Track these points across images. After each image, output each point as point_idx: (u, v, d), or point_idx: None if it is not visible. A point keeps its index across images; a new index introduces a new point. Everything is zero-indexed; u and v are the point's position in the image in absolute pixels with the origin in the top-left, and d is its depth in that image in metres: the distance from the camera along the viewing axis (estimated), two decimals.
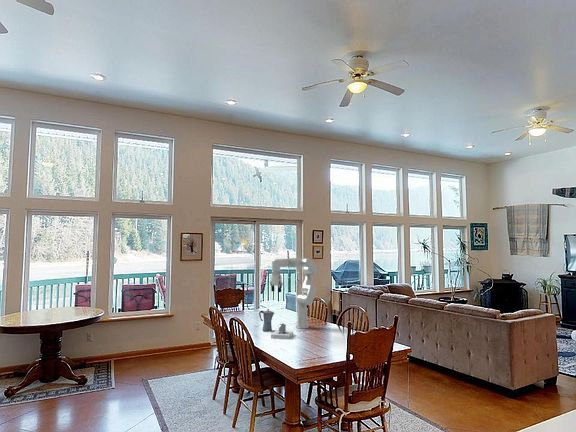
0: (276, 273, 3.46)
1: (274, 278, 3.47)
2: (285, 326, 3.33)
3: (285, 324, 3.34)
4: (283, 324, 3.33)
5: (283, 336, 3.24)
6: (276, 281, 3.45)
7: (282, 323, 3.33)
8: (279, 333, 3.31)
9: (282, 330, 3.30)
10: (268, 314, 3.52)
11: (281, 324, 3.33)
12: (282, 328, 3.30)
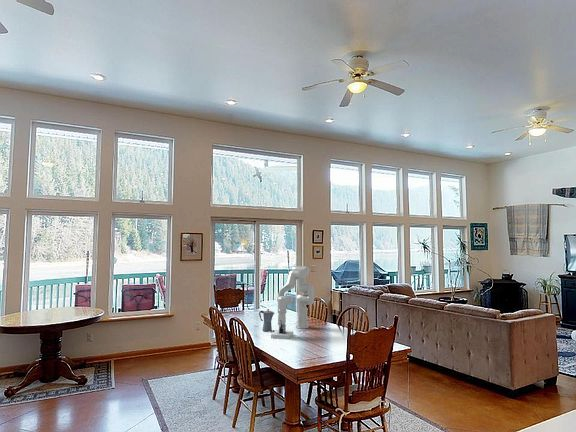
0: None
1: (285, 317, 3.34)
2: (285, 326, 3.33)
3: (285, 324, 3.34)
4: None
5: (283, 336, 3.24)
6: (285, 319, 3.36)
7: None
8: (279, 333, 3.31)
9: None
10: (268, 314, 3.52)
11: (281, 324, 3.33)
12: None
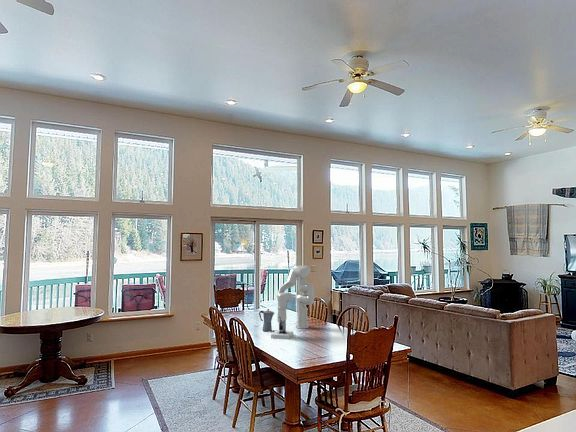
0: None
1: (285, 314, 3.34)
2: (285, 323, 3.33)
3: (285, 321, 3.34)
4: None
5: (283, 336, 3.24)
6: (285, 316, 3.36)
7: None
8: (279, 330, 3.32)
9: None
10: (268, 314, 3.52)
11: (281, 321, 3.33)
12: None
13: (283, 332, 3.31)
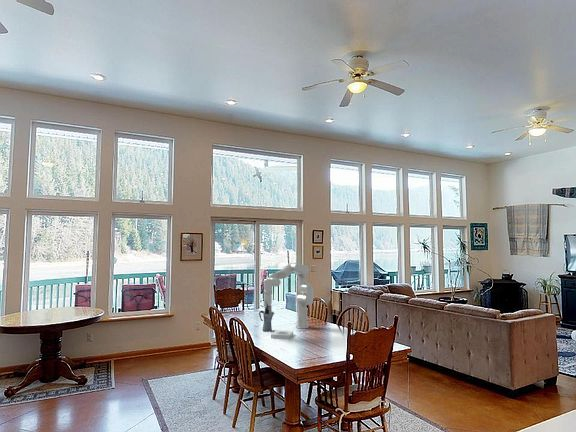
0: None
1: (270, 298, 3.36)
2: (271, 307, 3.35)
3: None
4: None
5: (283, 336, 3.24)
6: (271, 300, 3.39)
7: None
8: (265, 314, 3.34)
9: None
10: None
11: (267, 305, 3.35)
12: None
13: (269, 316, 3.33)
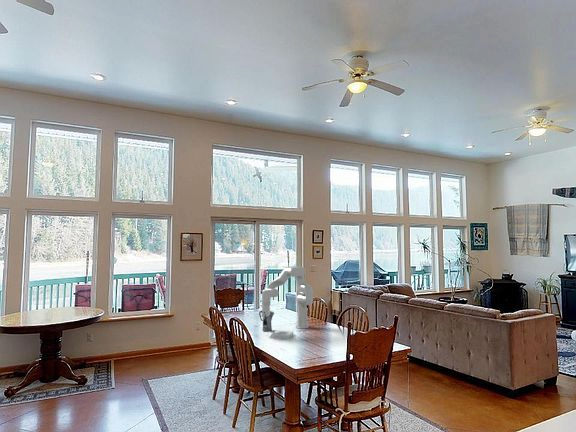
0: None
1: (269, 309, 3.36)
2: (269, 318, 3.34)
3: (269, 316, 3.36)
4: None
5: (283, 336, 3.24)
6: (269, 311, 3.38)
7: None
8: (263, 325, 3.33)
9: None
10: None
11: (265, 316, 3.34)
12: None
13: (267, 327, 3.32)
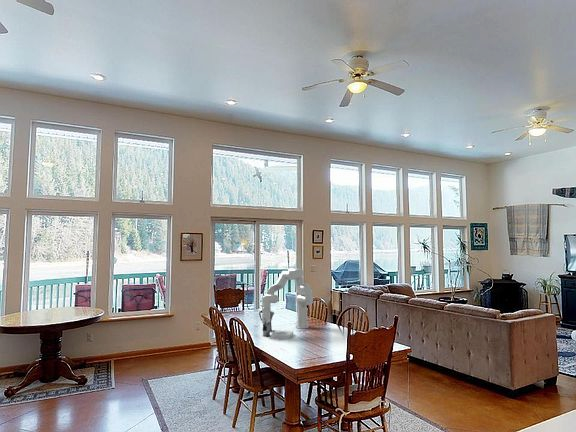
0: None
1: (269, 315, 3.35)
2: (269, 326, 3.34)
3: (269, 324, 3.36)
4: (267, 324, 3.35)
5: (283, 336, 3.24)
6: (269, 317, 3.38)
7: None
8: (263, 333, 3.33)
9: None
10: None
11: None
12: None
13: (267, 335, 3.32)
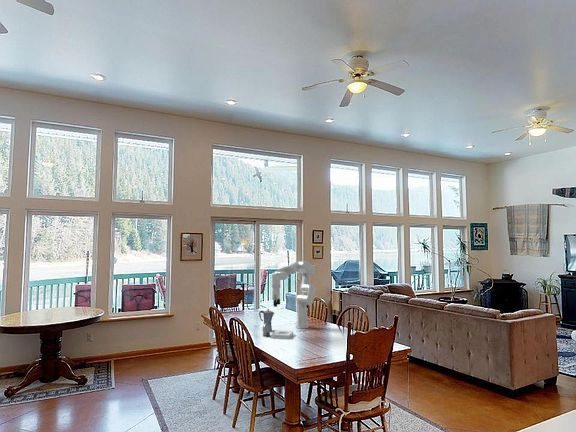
0: None
1: (279, 291, 3.42)
2: (269, 326, 3.34)
3: (269, 324, 3.36)
4: (267, 324, 3.35)
5: (283, 336, 3.24)
6: (279, 294, 3.45)
7: (266, 323, 3.35)
8: (263, 333, 3.33)
9: (266, 330, 3.32)
10: (268, 314, 3.52)
11: (265, 324, 3.34)
12: (266, 328, 3.32)
13: (267, 335, 3.32)
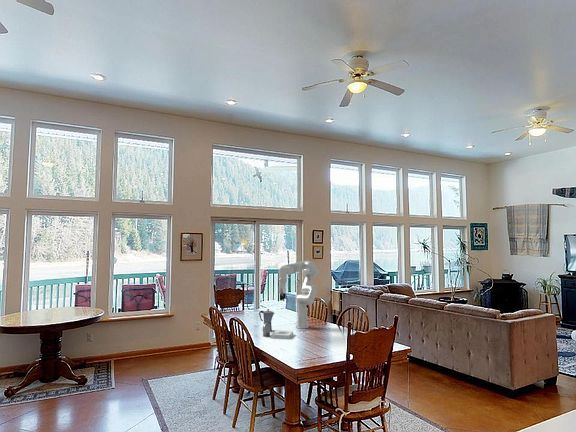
0: None
1: (285, 286, 3.46)
2: (269, 326, 3.34)
3: (269, 324, 3.36)
4: (267, 324, 3.35)
5: (283, 336, 3.24)
6: (285, 288, 3.48)
7: (266, 323, 3.35)
8: (263, 333, 3.33)
9: (266, 330, 3.32)
10: (268, 314, 3.52)
11: (265, 324, 3.34)
12: (266, 328, 3.32)
13: (267, 335, 3.32)
